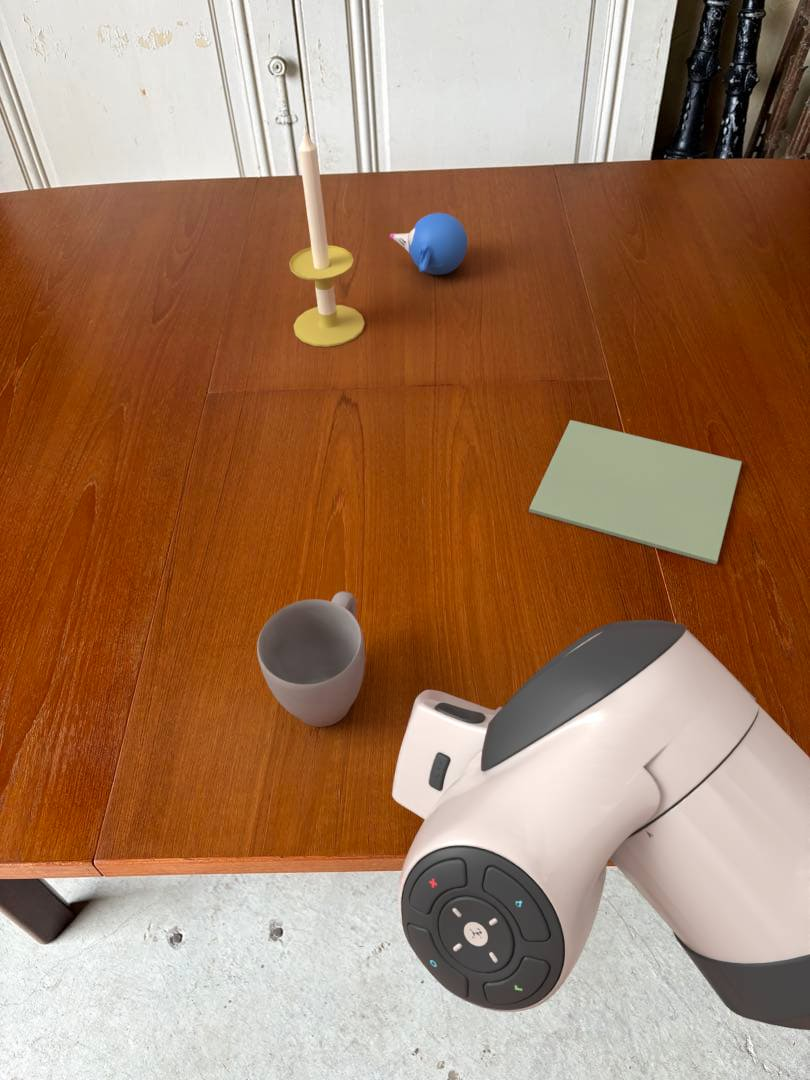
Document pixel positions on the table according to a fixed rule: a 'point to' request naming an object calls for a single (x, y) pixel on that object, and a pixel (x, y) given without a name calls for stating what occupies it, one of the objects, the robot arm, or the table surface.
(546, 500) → the mat
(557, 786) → the robot arm
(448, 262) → the blue mole toy
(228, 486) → the table surface
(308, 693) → the mug
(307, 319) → the candle
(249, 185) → the table surface
